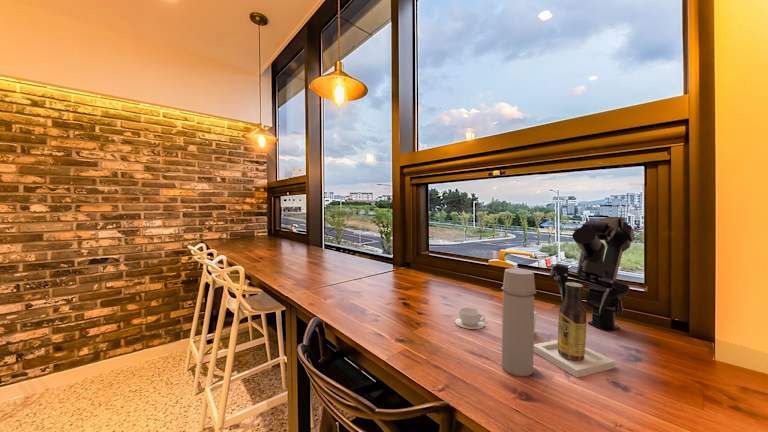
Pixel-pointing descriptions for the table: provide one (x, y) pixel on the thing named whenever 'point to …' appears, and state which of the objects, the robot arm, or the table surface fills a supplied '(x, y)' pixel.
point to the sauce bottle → (572, 324)
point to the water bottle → (518, 321)
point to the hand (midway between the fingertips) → (581, 307)
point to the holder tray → (587, 366)
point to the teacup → (470, 318)
